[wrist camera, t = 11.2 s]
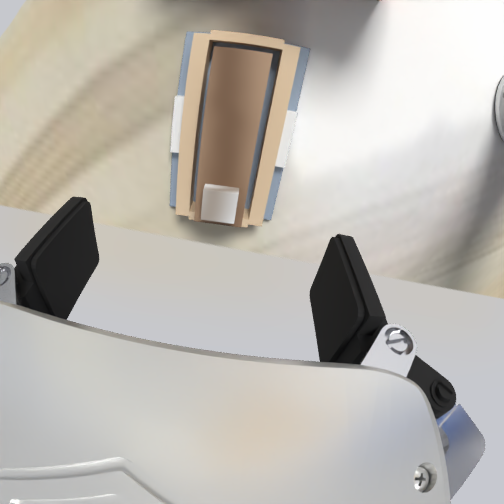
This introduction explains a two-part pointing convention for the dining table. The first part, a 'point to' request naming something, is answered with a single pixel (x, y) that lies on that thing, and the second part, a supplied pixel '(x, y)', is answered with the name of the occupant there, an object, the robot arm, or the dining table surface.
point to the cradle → (270, 128)
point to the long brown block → (230, 133)
